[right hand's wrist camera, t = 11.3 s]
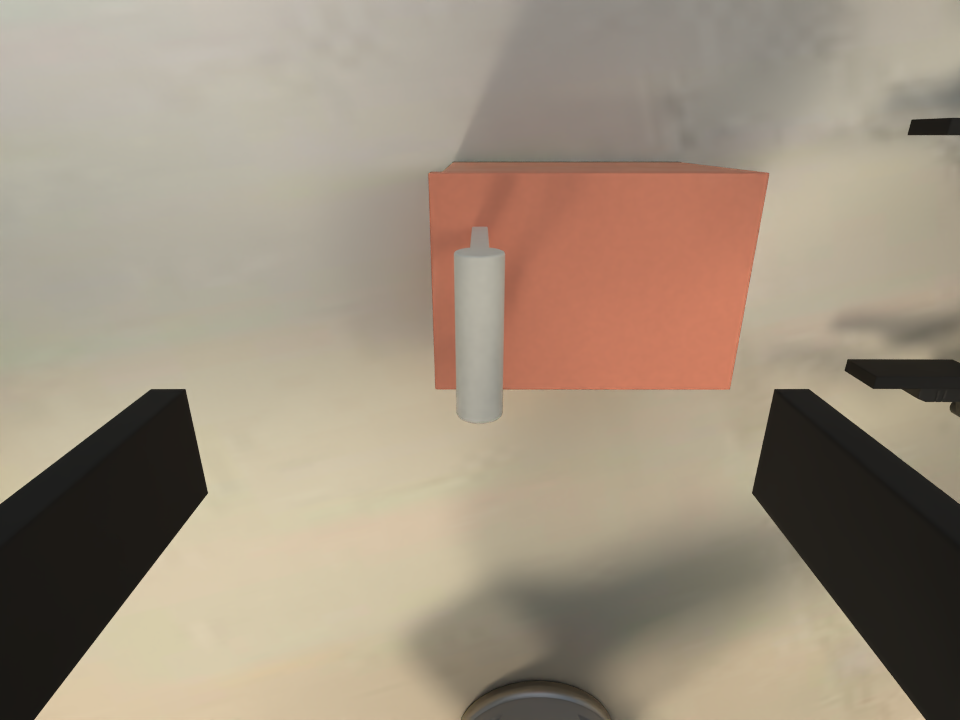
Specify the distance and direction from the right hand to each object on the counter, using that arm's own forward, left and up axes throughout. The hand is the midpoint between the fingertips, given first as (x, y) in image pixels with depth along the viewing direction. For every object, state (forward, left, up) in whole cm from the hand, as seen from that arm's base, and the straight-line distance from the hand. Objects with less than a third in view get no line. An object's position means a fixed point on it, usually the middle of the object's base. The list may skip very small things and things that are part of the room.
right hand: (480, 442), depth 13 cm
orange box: (+3, -4, -15) cm, 16 cm away
